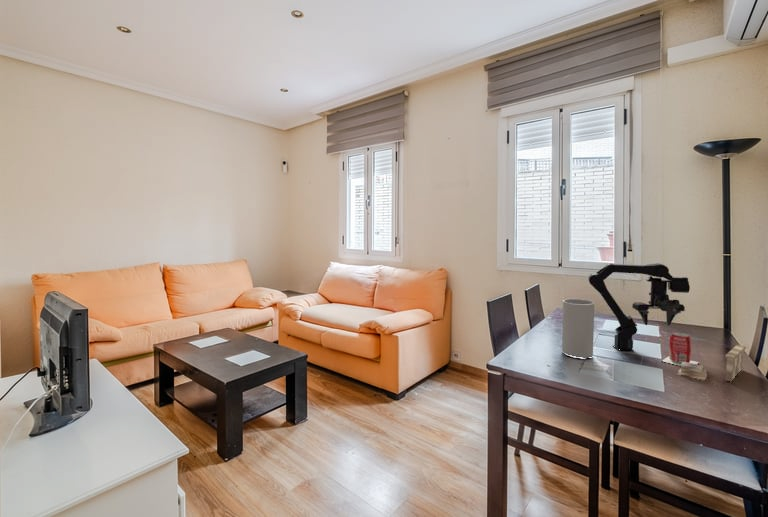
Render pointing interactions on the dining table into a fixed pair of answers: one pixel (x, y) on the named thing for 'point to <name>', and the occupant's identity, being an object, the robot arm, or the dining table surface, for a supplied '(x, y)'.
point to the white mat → (675, 362)
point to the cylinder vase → (578, 327)
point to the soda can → (680, 347)
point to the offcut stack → (692, 370)
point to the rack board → (734, 362)
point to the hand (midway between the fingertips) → (657, 325)
